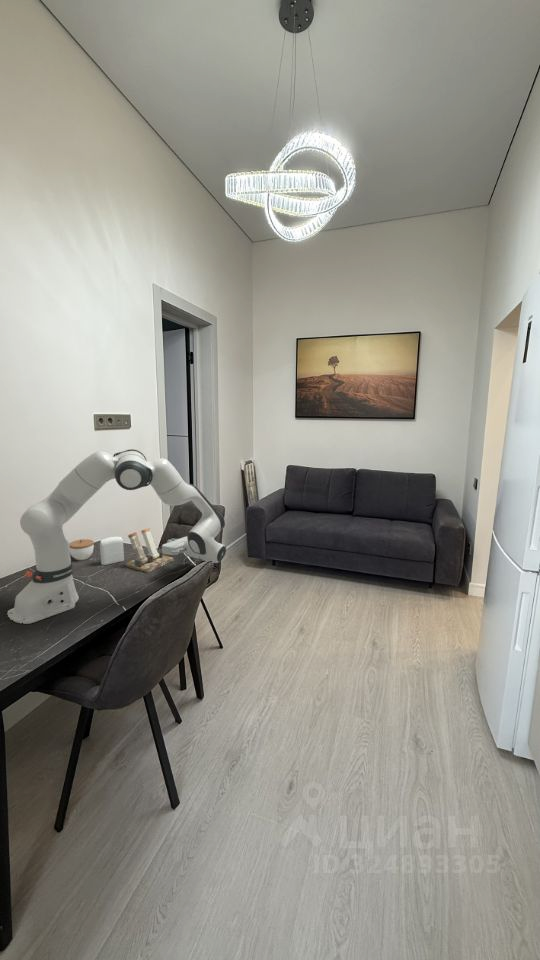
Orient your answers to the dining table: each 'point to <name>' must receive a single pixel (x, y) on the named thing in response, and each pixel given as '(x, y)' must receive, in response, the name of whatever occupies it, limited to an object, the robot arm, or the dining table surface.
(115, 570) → the dining table surface
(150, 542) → the lever
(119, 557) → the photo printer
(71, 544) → the lidded jar
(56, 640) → the dining table surface
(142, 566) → the console
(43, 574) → the robot arm
